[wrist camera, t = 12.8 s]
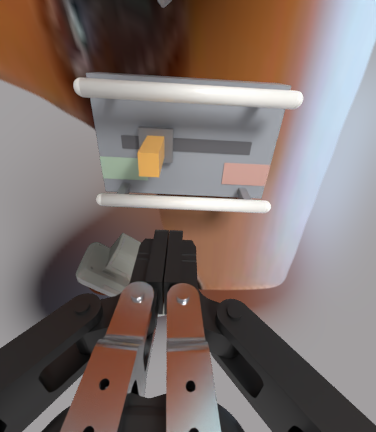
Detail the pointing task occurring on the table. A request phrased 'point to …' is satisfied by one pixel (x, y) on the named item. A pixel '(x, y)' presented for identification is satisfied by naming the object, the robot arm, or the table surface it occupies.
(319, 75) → the table surface
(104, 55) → the table surface
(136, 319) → the robot arm
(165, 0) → the light bulb box
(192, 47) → the table surface
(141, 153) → the breaker toggle
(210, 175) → the breaker panel
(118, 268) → the digital clock
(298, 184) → the table surface
